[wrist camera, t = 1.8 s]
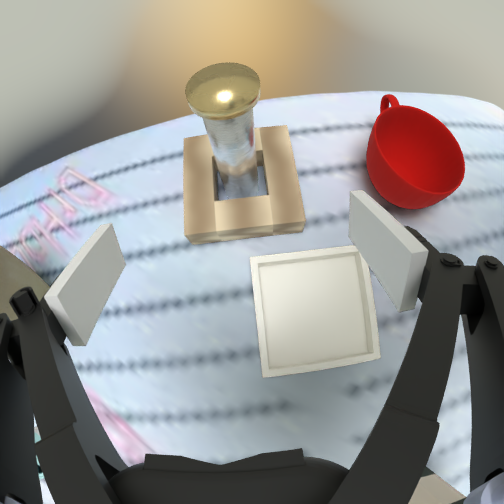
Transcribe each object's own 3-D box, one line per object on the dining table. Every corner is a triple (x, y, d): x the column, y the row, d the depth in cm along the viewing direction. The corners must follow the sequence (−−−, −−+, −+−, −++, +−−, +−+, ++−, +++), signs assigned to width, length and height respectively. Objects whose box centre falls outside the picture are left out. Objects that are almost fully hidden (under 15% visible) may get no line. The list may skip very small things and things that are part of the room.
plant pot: (28, 252, 39) (-39, 221, 24) (86, 276, 37) (8, 247, 22) (8, 333, 36) (-61, 324, 20) (64, 371, 34) (-15, 379, 18)
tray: (357, 250, 36) (364, 243, 33) (372, 356, 33) (380, 358, 30) (251, 262, 36) (249, 257, 34) (262, 373, 33) (262, 377, 30)
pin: (261, 167, 40) (255, 59, 21) (267, 206, 38) (264, 105, 20) (218, 172, 40) (186, 69, 21) (221, 212, 38) (184, 116, 20)
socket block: (285, 142, 41) (286, 125, 37) (302, 232, 37) (305, 221, 33) (190, 153, 41) (183, 138, 37) (192, 244, 37) (184, 235, 34)
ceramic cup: (405, 126, 41) (427, 87, 31) (442, 219, 37) (479, 191, 27) (335, 128, 41) (348, 82, 31) (368, 230, 37) (396, 199, 27)
